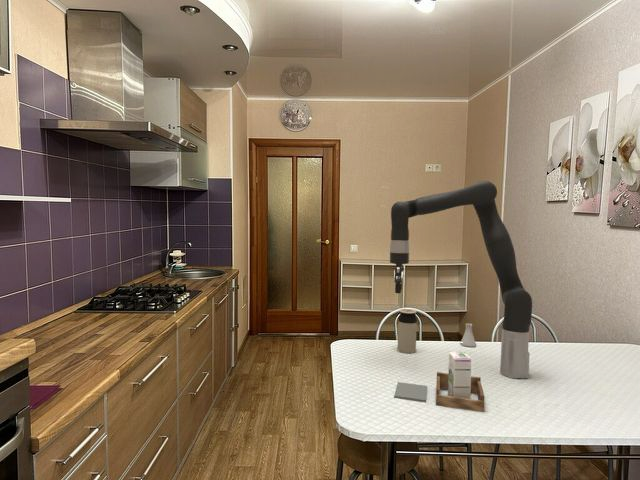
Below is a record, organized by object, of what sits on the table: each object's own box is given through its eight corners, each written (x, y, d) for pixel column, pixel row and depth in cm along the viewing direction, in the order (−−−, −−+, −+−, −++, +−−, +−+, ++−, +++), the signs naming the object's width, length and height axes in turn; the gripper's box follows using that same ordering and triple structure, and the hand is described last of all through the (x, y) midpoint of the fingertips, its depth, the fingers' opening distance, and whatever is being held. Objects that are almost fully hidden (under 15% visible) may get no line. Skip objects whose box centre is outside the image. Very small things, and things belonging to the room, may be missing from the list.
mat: (427, 387, 139) (427, 385, 139) (426, 402, 128) (426, 400, 128) (397, 383, 142) (397, 381, 142) (394, 397, 130) (394, 395, 130)
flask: (476, 344, 192) (476, 323, 192) (476, 348, 185) (477, 326, 185) (460, 342, 194) (460, 321, 194) (460, 346, 188) (460, 325, 187)
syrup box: (470, 403, 128) (472, 358, 127) (452, 402, 128) (453, 357, 127) (464, 395, 133) (466, 352, 133) (446, 395, 133) (448, 351, 133)
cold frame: (479, 393, 135) (480, 377, 135) (484, 411, 122) (484, 394, 122) (436, 387, 139) (436, 371, 139) (435, 404, 126) (436, 387, 126)
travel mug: (411, 354, 174) (413, 313, 173) (394, 351, 178) (395, 310, 177) (418, 350, 180) (419, 310, 180) (401, 346, 185) (402, 307, 184)
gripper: (408, 253, 155) (407, 295, 155) (409, 250, 169) (408, 289, 169) (388, 252, 157) (387, 293, 157) (391, 250, 170) (390, 288, 171)
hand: (398, 291), depth 163 cm, fingers open, 8 cm apart
